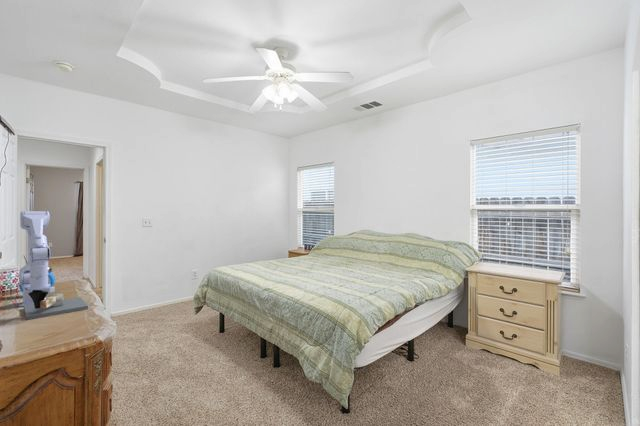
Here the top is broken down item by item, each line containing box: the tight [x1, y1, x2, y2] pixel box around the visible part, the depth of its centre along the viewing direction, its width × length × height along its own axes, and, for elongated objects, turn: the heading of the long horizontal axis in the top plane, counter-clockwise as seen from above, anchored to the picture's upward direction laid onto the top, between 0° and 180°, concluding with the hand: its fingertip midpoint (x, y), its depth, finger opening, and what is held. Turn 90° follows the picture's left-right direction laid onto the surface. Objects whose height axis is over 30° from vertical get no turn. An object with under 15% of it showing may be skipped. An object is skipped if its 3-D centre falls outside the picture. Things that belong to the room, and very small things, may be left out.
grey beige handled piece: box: [40, 293, 64, 309], centre depth 132 cm, size 13×5×4 cm, turn 17°
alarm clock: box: [18, 265, 56, 293], centre depth 157 cm, size 13×6×15 cm, turn 126°
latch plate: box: [23, 296, 89, 321], centre depth 136 cm, size 20×20×2 cm
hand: (38, 307), depth 128 cm, fingers closed
